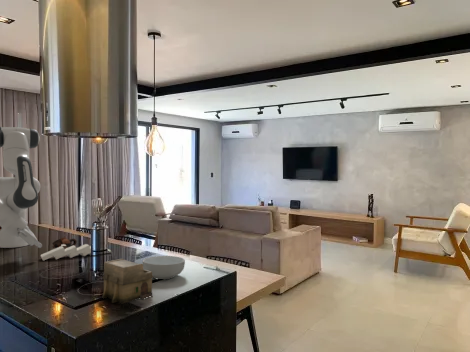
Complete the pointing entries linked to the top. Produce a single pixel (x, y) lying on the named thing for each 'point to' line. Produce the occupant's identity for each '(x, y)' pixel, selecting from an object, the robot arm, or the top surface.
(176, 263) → the cereal bowl
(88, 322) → the top surface
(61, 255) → the domino
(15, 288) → the top surface
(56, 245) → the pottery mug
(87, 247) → the domino
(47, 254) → the domino
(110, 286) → the miniature house
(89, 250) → the domino
